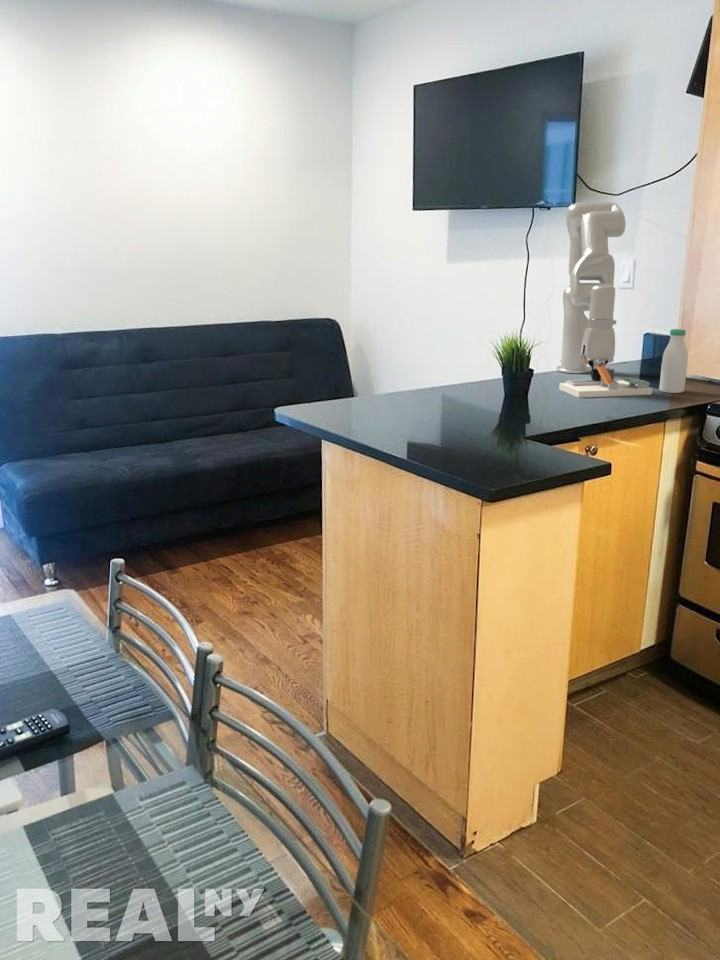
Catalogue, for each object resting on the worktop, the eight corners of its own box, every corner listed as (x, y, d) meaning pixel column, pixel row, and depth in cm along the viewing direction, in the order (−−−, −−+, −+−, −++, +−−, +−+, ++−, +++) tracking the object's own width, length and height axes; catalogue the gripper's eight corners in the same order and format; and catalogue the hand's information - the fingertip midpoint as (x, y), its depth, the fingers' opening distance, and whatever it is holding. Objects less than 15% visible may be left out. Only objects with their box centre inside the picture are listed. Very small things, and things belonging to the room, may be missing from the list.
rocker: (622, 380, 264) (623, 376, 264) (641, 384, 266) (642, 380, 265) (630, 383, 259) (632, 379, 258) (650, 387, 260) (651, 383, 260)
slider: (600, 381, 271) (601, 366, 270) (608, 381, 272) (610, 366, 270) (604, 383, 268) (606, 368, 267) (613, 383, 269) (614, 367, 267)
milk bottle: (687, 393, 262) (694, 330, 256) (663, 393, 262) (670, 331, 256) (679, 389, 269) (685, 328, 263) (655, 389, 269) (661, 328, 264)
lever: (604, 384, 263) (593, 362, 260) (608, 381, 263) (597, 360, 260) (610, 386, 260) (599, 364, 257) (614, 384, 260) (603, 361, 257)
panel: (559, 389, 271) (559, 377, 270) (628, 386, 275) (629, 374, 274) (578, 397, 257) (579, 385, 255) (651, 394, 261) (652, 382, 260)
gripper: (616, 322, 268) (611, 377, 274) (573, 323, 266) (570, 379, 271) (627, 324, 261) (622, 381, 267) (583, 326, 259) (579, 383, 264)
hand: (596, 380), depth 269 cm, fingers closed
